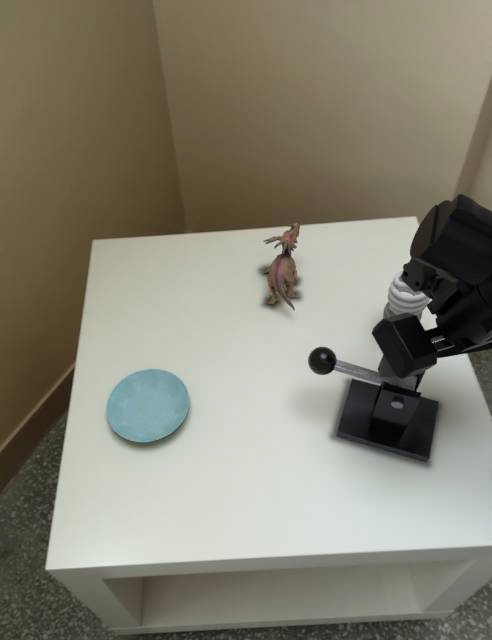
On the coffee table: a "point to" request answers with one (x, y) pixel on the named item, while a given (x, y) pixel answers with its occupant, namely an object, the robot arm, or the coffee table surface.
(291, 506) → the coffee table surface
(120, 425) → the saucer
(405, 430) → the bracket
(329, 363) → the lever
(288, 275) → the dinosaur figurine
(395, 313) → the light bulb
